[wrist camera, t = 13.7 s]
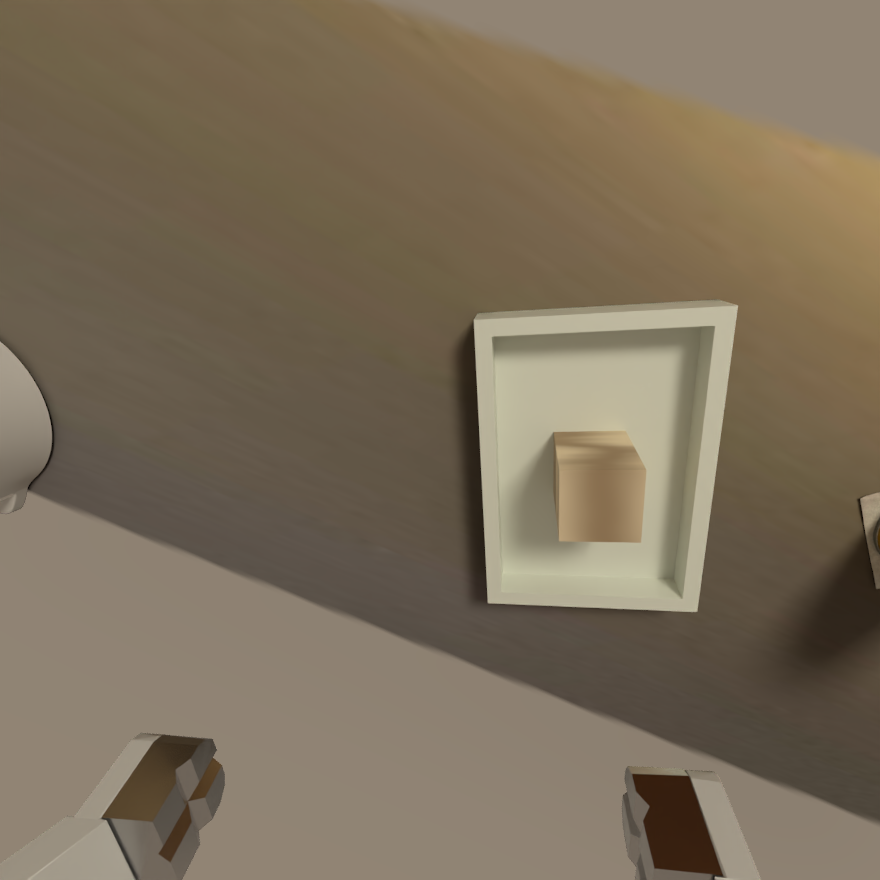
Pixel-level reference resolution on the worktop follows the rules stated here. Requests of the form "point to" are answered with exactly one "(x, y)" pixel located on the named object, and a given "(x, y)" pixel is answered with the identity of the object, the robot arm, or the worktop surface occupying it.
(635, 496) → the birch block
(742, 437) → the worktop surface
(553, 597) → the shallow rimmed tray
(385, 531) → the worktop surface
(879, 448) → the worktop surface
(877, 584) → the condiment
